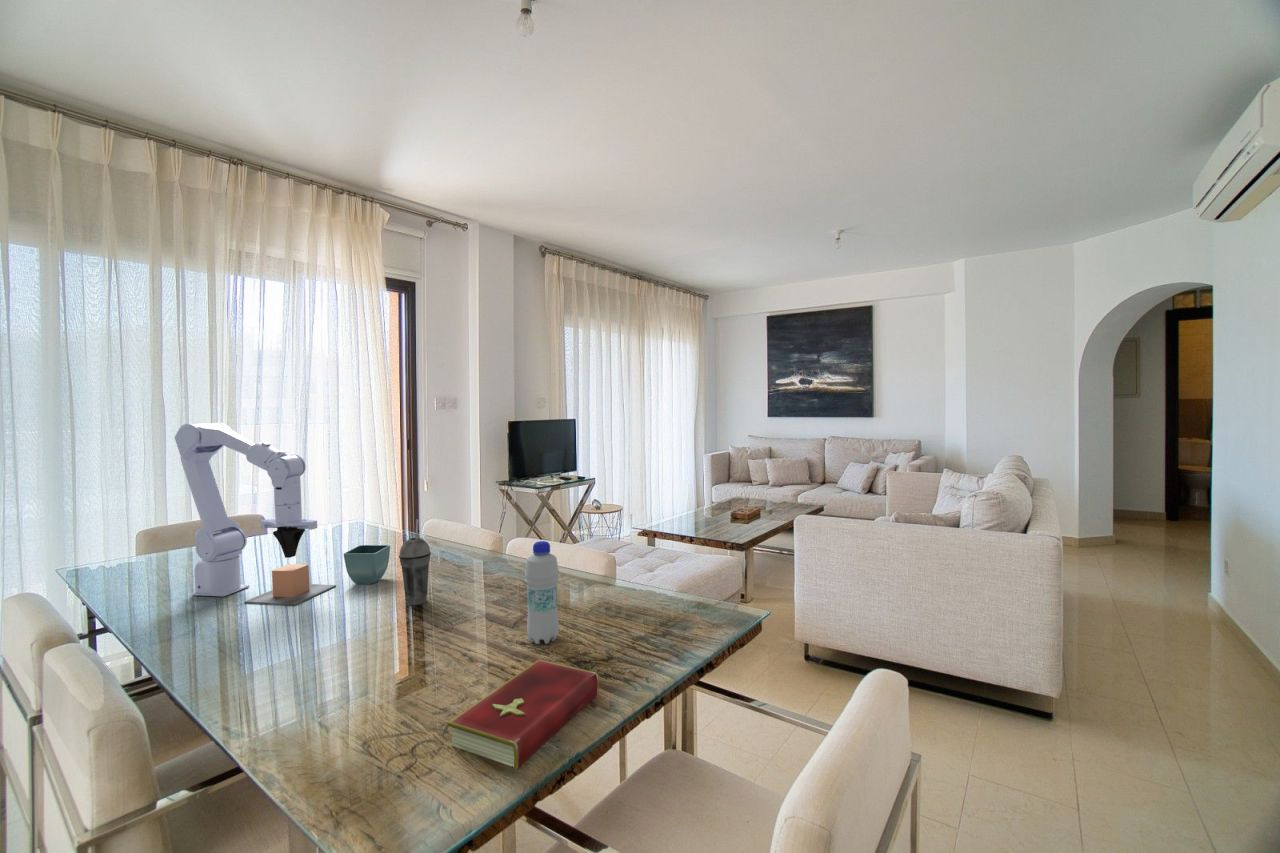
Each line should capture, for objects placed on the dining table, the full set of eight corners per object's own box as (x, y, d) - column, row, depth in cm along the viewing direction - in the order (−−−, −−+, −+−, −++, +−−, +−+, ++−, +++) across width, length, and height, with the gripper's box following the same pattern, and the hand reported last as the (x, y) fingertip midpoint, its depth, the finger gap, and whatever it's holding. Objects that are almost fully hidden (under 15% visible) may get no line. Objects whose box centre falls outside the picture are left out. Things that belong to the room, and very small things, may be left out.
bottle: (565, 635, 115) (563, 538, 114) (550, 648, 109) (547, 546, 108) (537, 631, 117) (534, 536, 116) (519, 644, 111) (517, 544, 110)
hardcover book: (599, 696, 91) (598, 671, 91) (517, 774, 73) (516, 742, 72) (539, 681, 97) (538, 657, 97) (448, 750, 78) (447, 720, 78)
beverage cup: (393, 605, 134) (390, 522, 133) (416, 595, 141) (413, 516, 140) (417, 608, 131) (414, 524, 130) (439, 598, 138) (436, 518, 137)
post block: (244, 603, 137) (243, 581, 137) (289, 584, 151) (288, 564, 150) (295, 605, 134) (294, 583, 134) (335, 586, 148) (335, 566, 148)
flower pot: (376, 586, 148) (375, 553, 147) (343, 587, 148) (342, 553, 148) (392, 576, 156) (391, 544, 156) (360, 576, 157) (359, 544, 156)
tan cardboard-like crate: (272, 596, 140) (271, 570, 140) (290, 589, 146) (289, 564, 145) (292, 597, 139) (291, 571, 139) (309, 589, 145) (308, 564, 144)
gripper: (249, 505, 139) (252, 560, 139) (301, 506, 136) (303, 562, 137) (272, 500, 146) (274, 552, 146) (322, 501, 143) (324, 554, 144)
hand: (290, 556), depth 142 cm, fingers closed
